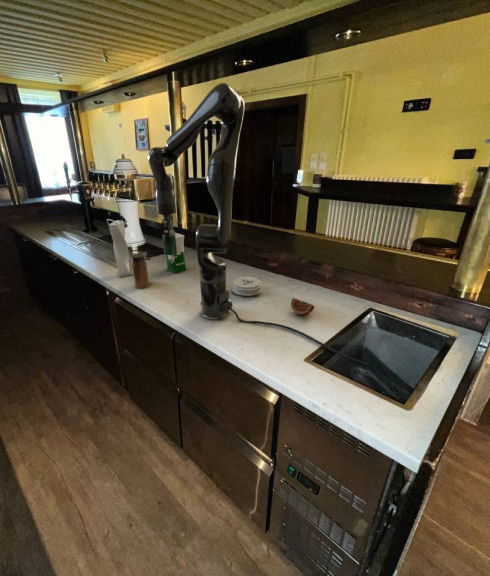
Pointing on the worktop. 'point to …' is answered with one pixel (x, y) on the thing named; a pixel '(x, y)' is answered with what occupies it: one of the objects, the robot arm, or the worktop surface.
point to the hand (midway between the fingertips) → (169, 242)
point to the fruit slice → (301, 307)
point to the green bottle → (170, 248)
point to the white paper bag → (121, 248)
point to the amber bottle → (140, 271)
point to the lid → (247, 286)
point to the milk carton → (177, 256)
